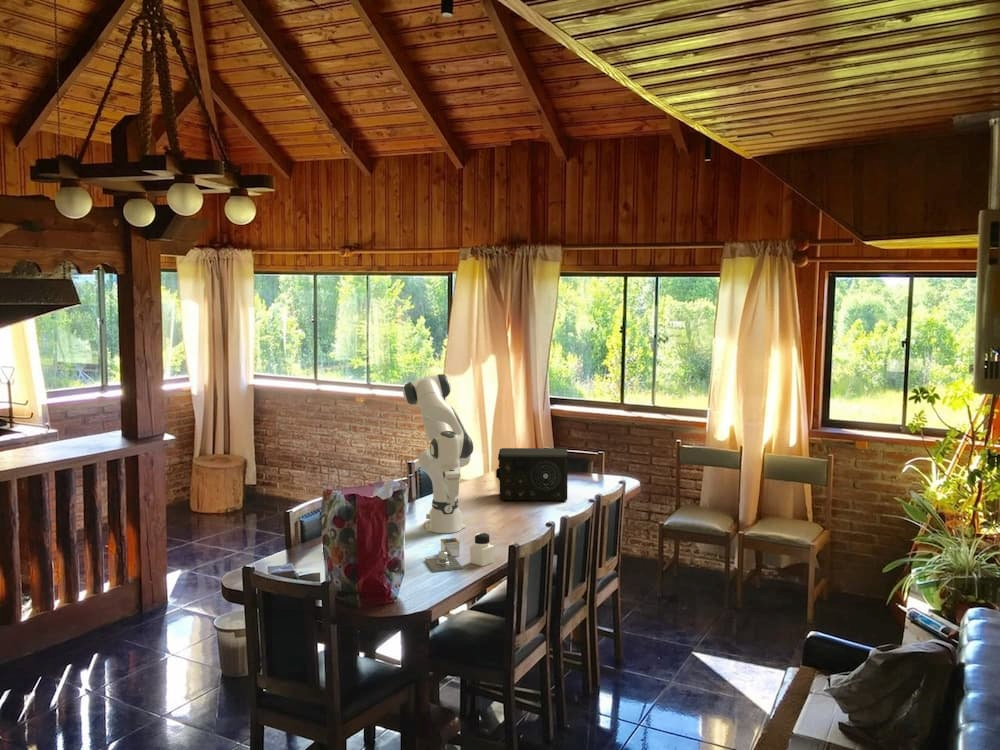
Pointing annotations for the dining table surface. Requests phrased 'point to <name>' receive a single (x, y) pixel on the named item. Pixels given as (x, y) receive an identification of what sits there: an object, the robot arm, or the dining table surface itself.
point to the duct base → (443, 563)
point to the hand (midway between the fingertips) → (450, 502)
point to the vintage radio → (533, 473)
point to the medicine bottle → (482, 550)
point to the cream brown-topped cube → (450, 546)
